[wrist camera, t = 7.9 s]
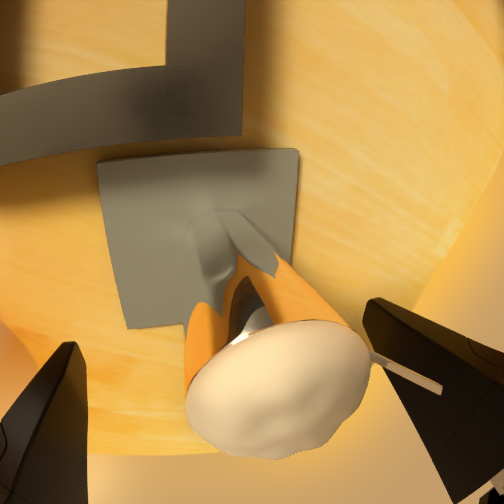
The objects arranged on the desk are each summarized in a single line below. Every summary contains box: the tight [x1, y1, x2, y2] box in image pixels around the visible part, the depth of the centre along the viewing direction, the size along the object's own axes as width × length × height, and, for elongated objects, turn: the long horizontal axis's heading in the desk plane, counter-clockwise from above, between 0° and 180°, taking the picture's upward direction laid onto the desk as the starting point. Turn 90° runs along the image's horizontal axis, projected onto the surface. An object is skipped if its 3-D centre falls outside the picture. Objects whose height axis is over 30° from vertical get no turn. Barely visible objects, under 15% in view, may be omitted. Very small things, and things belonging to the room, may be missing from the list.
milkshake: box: [181, 209, 443, 460], centre depth 10 cm, size 4×5×10 cm
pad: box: [96, 148, 299, 329], centre depth 14 cm, size 8×8×1 cm
